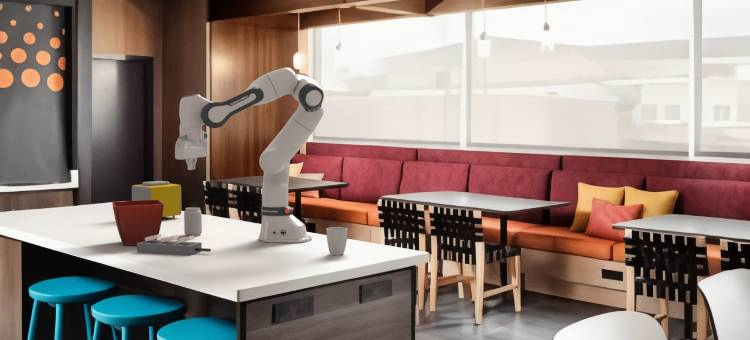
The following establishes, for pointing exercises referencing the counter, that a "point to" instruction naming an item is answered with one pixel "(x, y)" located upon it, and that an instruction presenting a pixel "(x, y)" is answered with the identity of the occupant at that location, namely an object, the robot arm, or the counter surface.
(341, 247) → the cup
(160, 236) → the rocker
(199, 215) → the can
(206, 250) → the rocker switch panel
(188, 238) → the block
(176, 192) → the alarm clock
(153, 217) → the plant pot
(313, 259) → the counter surface
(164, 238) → the rocker
